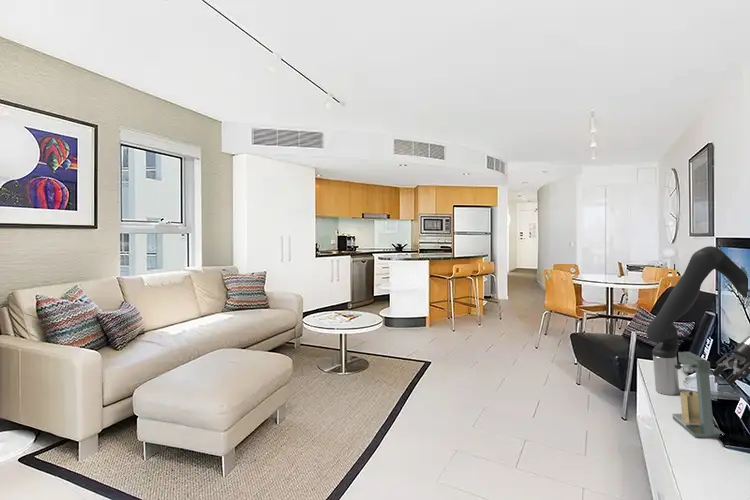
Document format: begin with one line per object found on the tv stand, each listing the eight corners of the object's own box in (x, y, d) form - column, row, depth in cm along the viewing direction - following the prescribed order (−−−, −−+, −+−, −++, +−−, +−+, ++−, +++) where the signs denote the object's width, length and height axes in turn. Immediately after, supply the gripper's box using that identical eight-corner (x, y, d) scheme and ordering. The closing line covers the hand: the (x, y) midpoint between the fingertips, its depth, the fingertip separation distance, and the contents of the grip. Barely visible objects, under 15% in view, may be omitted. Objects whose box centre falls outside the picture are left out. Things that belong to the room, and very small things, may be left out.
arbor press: (662, 418, 168) (656, 350, 167) (699, 418, 165) (693, 349, 164) (683, 437, 152) (677, 362, 152) (724, 437, 149) (718, 361, 149)
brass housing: (682, 416, 164) (679, 389, 164) (696, 416, 163) (694, 388, 163) (689, 421, 159) (686, 393, 159) (703, 421, 158) (701, 393, 158)
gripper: (732, 337, 163) (701, 366, 166) (757, 346, 149) (723, 378, 152) (748, 350, 162) (717, 379, 165) (775, 360, 148) (741, 392, 151)
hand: (720, 378), depth 158 cm, fingers open, 8 cm apart
